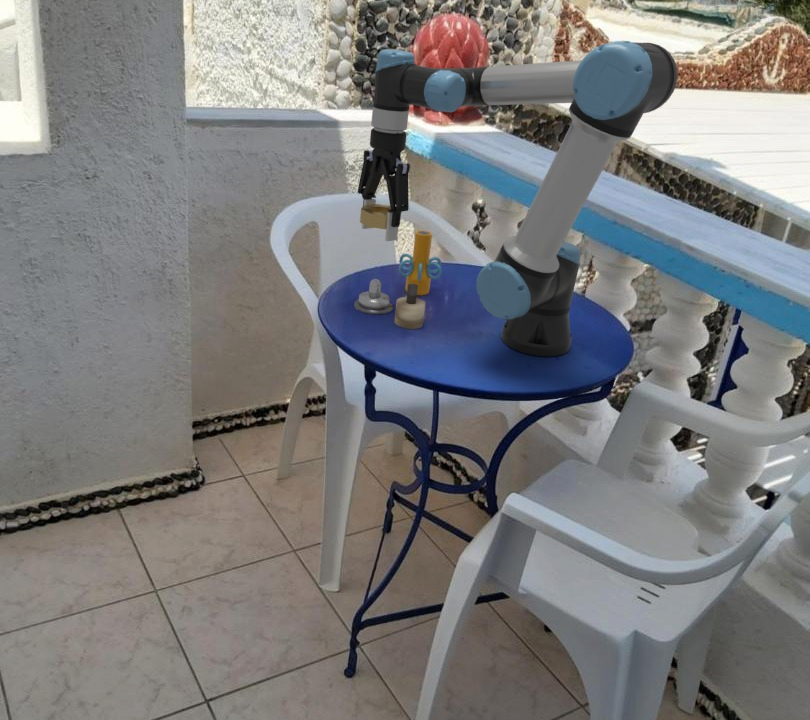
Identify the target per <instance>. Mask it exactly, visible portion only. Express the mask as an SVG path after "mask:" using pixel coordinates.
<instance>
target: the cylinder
mask: <svg viewBox="0 0 810 720" xmlns="http://www.w3.org/2000/svg"><path fill="white" fill-rule="evenodd" d="M432 239H433V233H432V232H431V231H428V230H423V229H421V230H416V231H415V233H414V243H413V251H412V252H413V253H412V255H411V254H410V253H402V254H401V255H400V257H399V260H398V261H399V266H398V272H399V273H398V274H399V275H400V276H402V277H406V278H405V288H404V290H405V292H406V293H407V289H408V284H417V285H418V290H417V296H426V295H428V294H429V293H430V290H431V289H430V288H431V281H432V280H438V279H440V277H441V275H442V260H441V258H439V256H432V257H431V256H430V255H431V247H432V246H431V245H432ZM405 257H407V258H408V259H404V258H405ZM435 261H437V262H435ZM406 263H408V264H410V266H405V264H406ZM431 266H435V269H431ZM402 269H403V270H404V271H407V272H406V273H405V272H403V270H402ZM437 272H438V273H437ZM435 273H437V275H432V274H435Z"/></svg>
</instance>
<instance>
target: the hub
mask: <svg viewBox="0 0 810 720" xmlns="http://www.w3.org/2000/svg"><path fill="white" fill-rule="evenodd" d="M381 288H382V283H381V280H379V279H377V278H374V279H372V280H371V281H370V283H369V288H368V289H369V290H367V291H363V292H361V293H359V296H358V299H357V300H355V301H354V303H353V307H354V309H355V310H356V311H358V312H361V313H363V314H368V315H377V316H378V315H380V316H381V315H387V314H389V313H391V312H393V310H394V306H393V304H392V303H391V302H390V296H389V295H388V294H386V293H384V292H381V290H382V289H381Z"/></svg>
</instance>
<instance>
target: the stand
mask: <svg viewBox="0 0 810 720" xmlns="http://www.w3.org/2000/svg"><path fill="white" fill-rule="evenodd" d="M417 290H418V285H417V284H408V289H407V292H406V296H403V297H399V298H397V299H396V304H395V313H394V324H395V325H396V326H398V327H399V328H403V329H407V330H417V329H421V328H422V327H423V325H424V319H425V312H426V311H425V310H426V301H424V300H423V299H421V298H418V295H417Z"/></svg>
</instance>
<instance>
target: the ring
mask: <svg viewBox="0 0 810 720" xmlns="http://www.w3.org/2000/svg"><path fill="white" fill-rule="evenodd" d="M388 210H391V208H390V205H388V204H381V203H376V204H371V205H364V206H363V205H362V207H361V209H360V218H359V223H360V224H361V225H362V224H364V225H366V226H368V227H372V228H371V229H380V230H381V229H382V230H386V226H387V216H388ZM401 218H402V217H401ZM401 218H400V220H401Z"/></svg>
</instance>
